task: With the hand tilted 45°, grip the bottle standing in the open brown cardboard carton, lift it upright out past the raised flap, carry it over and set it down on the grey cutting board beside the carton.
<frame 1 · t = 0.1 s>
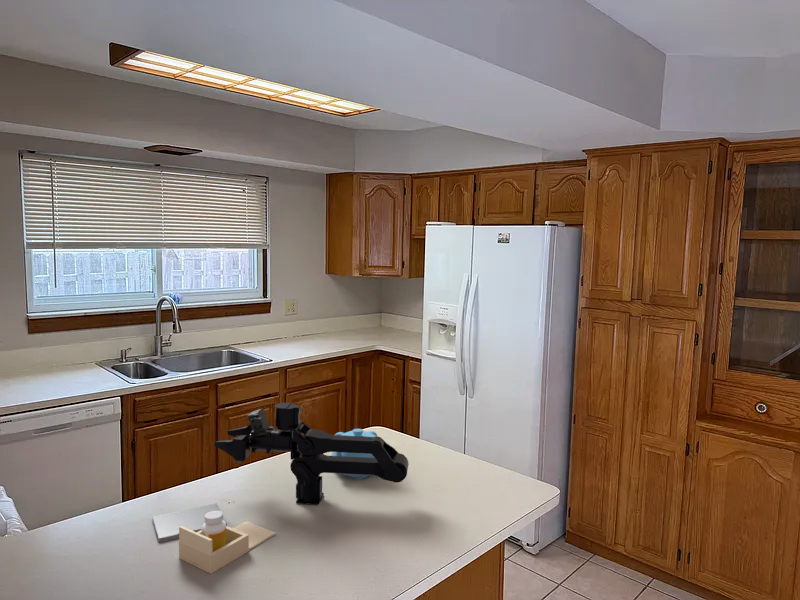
hand: (221, 437, 159), 17 cm above the countertop, tool horizontal, fingers open, 9 cm apart
carton: (214, 554, 130), on the countertop
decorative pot: (357, 472, 179), on the countertop
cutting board: (189, 523, 144), on the countertop
supplement bottle: (214, 555, 130), resting in carton
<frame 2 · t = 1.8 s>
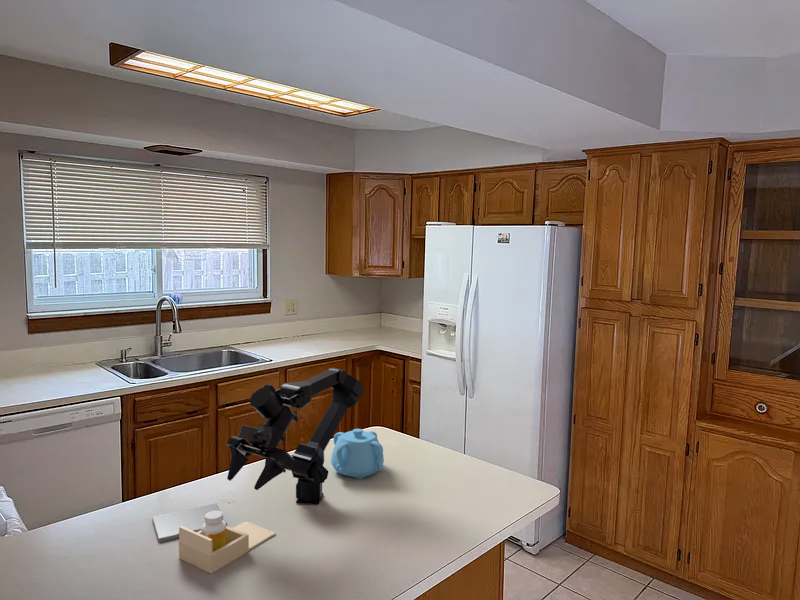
hand: (241, 484, 136), 14 cm above the countertop, tool tilted 45°, fingers open, 9 cm apart
nothing on the countertop moved.
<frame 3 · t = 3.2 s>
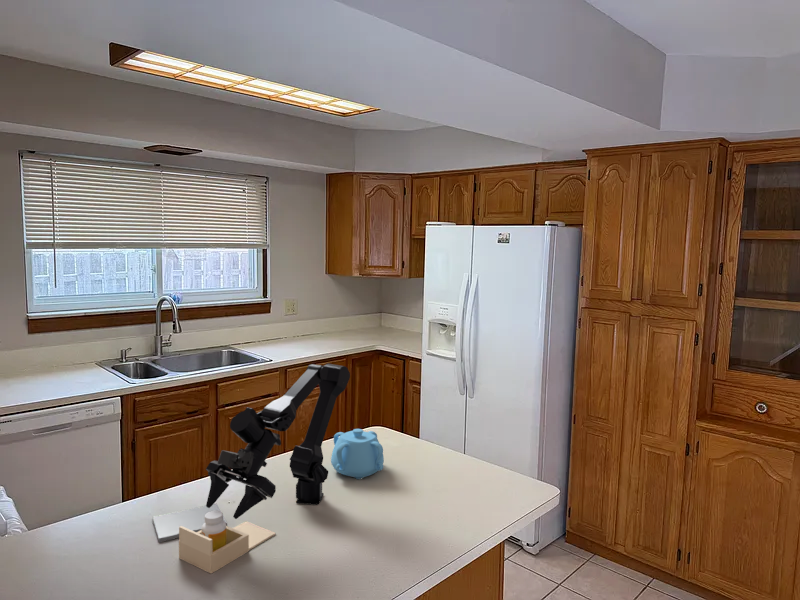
hand: (220, 512, 131), 9 cm above the countertop, tool tilted 45°, fingers open, 9 cm apart
nothing on the countertop moved.
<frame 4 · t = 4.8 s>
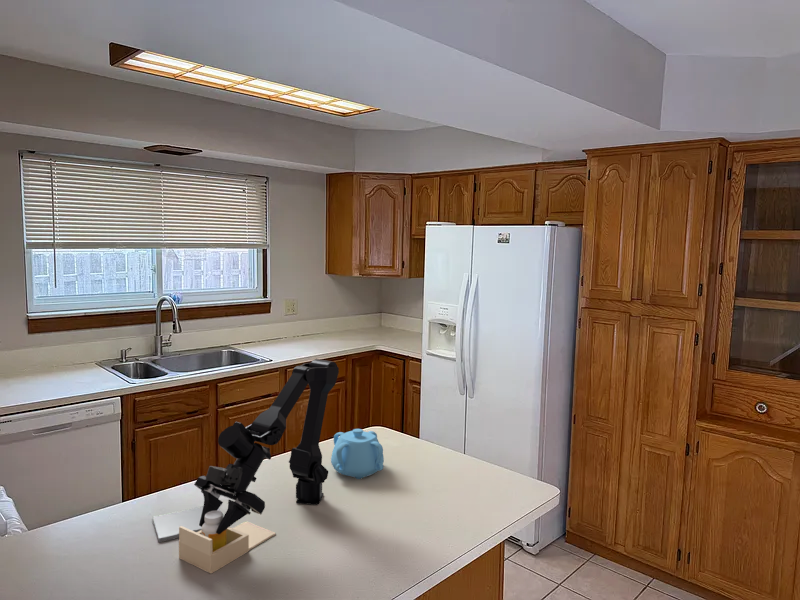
hand: (209, 529, 128), 7 cm above the countertop, tool tilted 45°, fingers closed on supplement bottle, 5 cm apart
supplement bottle: (214, 555, 130), resting in carton, touching gripper
everything else where it was.
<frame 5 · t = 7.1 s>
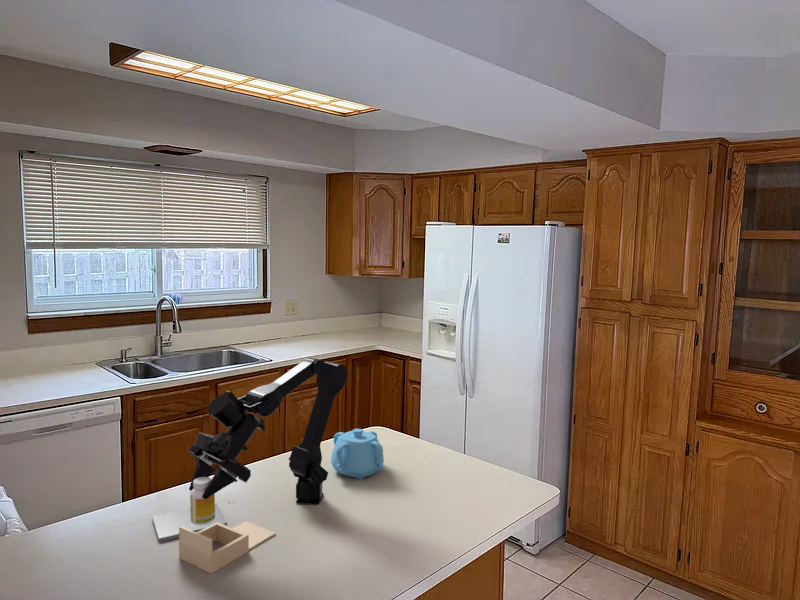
hand: (197, 494, 131), 13 cm above the countertop, tool tilted 45°, fingers closed on supplement bottle, 5 cm apart
supplement bottle: (203, 520, 133), point 6 cm above the countertop, touching gripper
everything else where it was.
when the fingers open (9 cm above the countertop, at t = 9.4 s): supplement bottle drops 1 cm, resting on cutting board.
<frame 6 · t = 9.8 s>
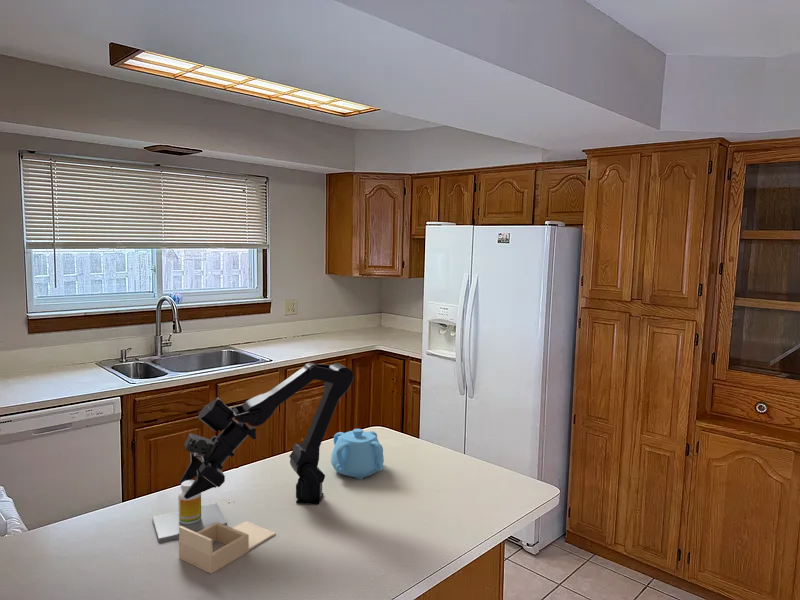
hand: (183, 490, 142), 9 cm above the countertop, tool tilted 45°, fingers open, 9 cm apart
supplement bottle: (190, 520, 144), point 1 cm above the countertop, touching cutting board
everything else where it was.
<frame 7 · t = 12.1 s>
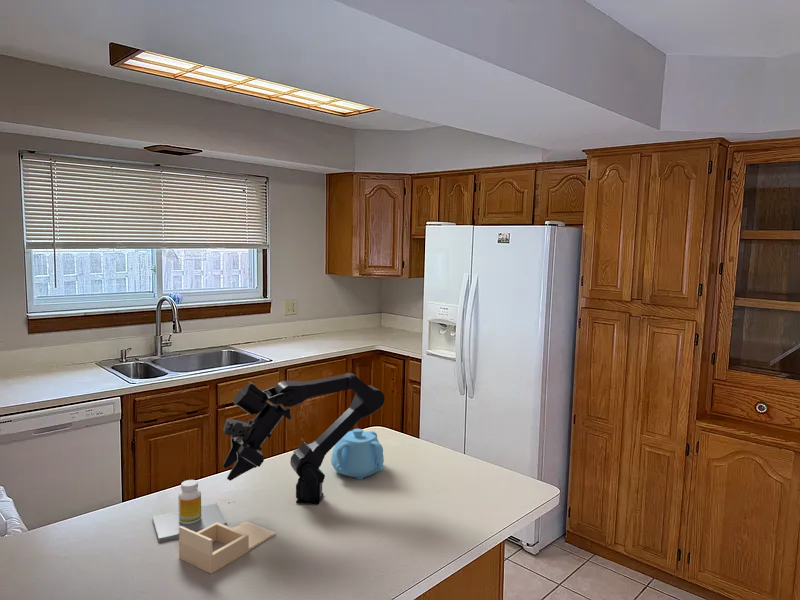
hand: (226, 473, 147), 11 cm above the countertop, tool tilted 40°, fingers open, 9 cm apart
nothing on the countertop moved.
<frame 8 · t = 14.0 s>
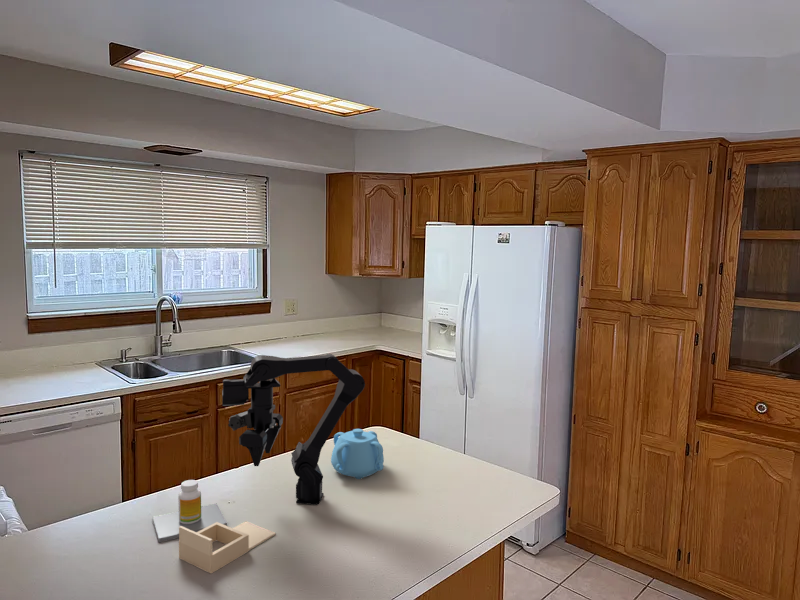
hand: (262, 459, 153), 13 cm above the countertop, tool pointing down, fingers open, 9 cm apart
nothing on the countertop moved.
at the end: supplement bottle inside the target area on the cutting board (0.1 cm from its centre), point 0.8 cm above the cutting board's base; supplement bottle tilted 0°; the gripper is holding nothing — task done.
